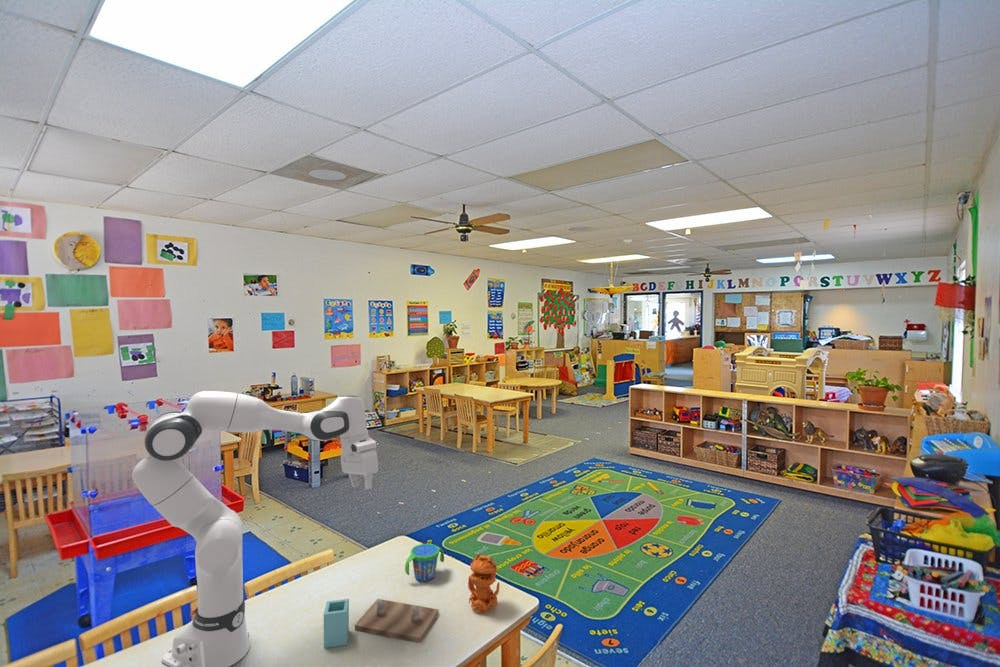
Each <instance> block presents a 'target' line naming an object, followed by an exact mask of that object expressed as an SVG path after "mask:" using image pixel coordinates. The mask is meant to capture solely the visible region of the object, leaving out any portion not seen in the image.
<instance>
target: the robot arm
mask: <svg viewBox="0 0 1000 667" xmlns="http://www.w3.org/2000/svg"><path fill="white" fill-rule="evenodd" d="M366 414H367V413H366V410H365V405H364V403H363V400H362V398H361V397H359V396H358V395H339V396H337V398H336V399H335V400H334V401H333V402H331V403H330V404H328V405H327V406H324V408H321V409H319V410H313V411H308V412H296V411H289V410H283V409H278V408H275V407H272V406H271V405H268V403H266V402H265V401H264V400H263V399H260V398H259V397H255V396H251V395H249V394H248V395H247V394H244V393H238V392H232V391H223V390H222V391H220V390H203V391H199V392H196V393H194V394H193V395H192V396H191V397H190V398H189V400H188V402H187V404H186V407H185V408H184V410H183V411H169V412H165V413H163V414H161V415H159V416H158V417H156V418H155V420H154V421H153V422H152V423H151V424H150V425H149V427H148V428H147V431H146V434H145V437H144V448H145V450H146V452H147V453H148V454H147V455H146V456H145V457H143V459H141V460H140V461H139V462H138V463H137V464H136V465H135V467H134V468H133V470H132V473H131V478H132V480H133V482H134V484H135V485H136V487H137V489H138V490H139V491H140V493H141V494H142V496H143V497H144V499H146V500H147V502H148V503H149V504H150V505H151V506H152V507H153V508H154V509H155V510H156V511H157V512H158V513H159V514H160V515H161V516H162V517H163V518H164V519H165V520H166V521H167V522H168V523H169V524H170V525H171V526H172V527H175V528H179V529H181V530H183V531H184V532H186V533H187V534H189V535H191V537H192V538H193V539H194V541H195V542H196V545H195V550H194V556H195V560H194V561H195V575H196V581H197V582H196V584H197V607H196V608H194V609H193V610H192V611H191V612H189V614H190V615H189V617H193V619H192V620H191V621H189V622H188V623H187V624H185V626H183V627H182V628H181V629H179V631H178V632H177V633H176V634H175V636H174V637H173V641H172V646H171V647H170V648H168V649H167V650H166V652H165V653H164V654H163V656H162V658H161V662H162V664H165V665H167V666H168V667H231V666H232V665H234V664H236V663H239V661H240V660H241V659H243V658H244V657H245V656H246V655H247V654H248V652H249V651H250V647H251V642H250V638H249V634H250V632H249V629H248V628H247V621H246V620H247V619H246V599H245V597H244V576H243V575H244V574H243V573H244V570H243V568H244V567H243V565H244V564H243V522H242V519H241V517H240V516H239V514H238V513H237V512H236V511H235V510H234V509H231V508H229V507H228V505H226V504H224V502H222V501H221V500H219V499H218V498H216V497H215V496H214V495H213V494H212V493H211V492H209V490H208V489H207V488H206V487H205V486H204V484H202V483H201V481H200V480H198V478H197V477H196V476H195V475H194V474H193V473H192V472H191V471H190V470H189V469H188V468H187V466H186V465H185V464H184V463H183V461H182V457H183V456H185V455H187V453H189V452H190V451H191V449H192V448H193V447H194V445H195V444H196V442H197V441H198V439H199V438H200V436H201V435H202V432H205V431H220V432H227V433H241V434H242V433H256V432H260V431H266V430H274V431H275V430H276V431H283V432H291V433H297V434H300V435H301V436H303V437H304V438H306V439H308V440H309V441H311V442H320V441H321V442H322V441H323V442H324V441H325V442H326V441H331V440H333V439H334V438H337V437H339V439H340V445H341V452H340V463H341V471H342V472H343V473H344V474H348V478H349V480H350V483H351V487H352V488H356V487H357V488H358V487H360V482H359V480H358V477H357V475H359V476H362V475H363V478H364V483H363V485H364V486H363V487H364V489H365V490H370V489H372V488H373V486H372V482H373V481H372V480H373V475H375V474H378V471H379V460H378V454H377V450H376V448H377V446H378V445H377V441H376V440H374V439H373V438H372V437H371V436H370V435H369V430H368V428H367V415H366ZM193 615H194V616H193Z"/></svg>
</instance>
